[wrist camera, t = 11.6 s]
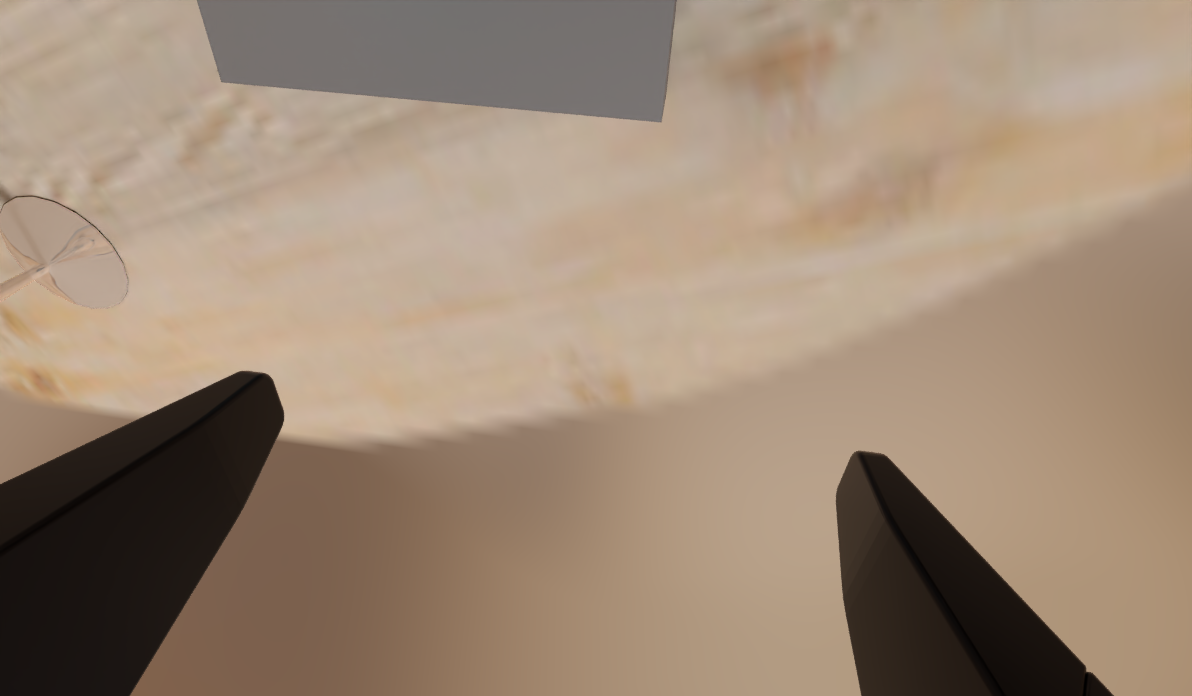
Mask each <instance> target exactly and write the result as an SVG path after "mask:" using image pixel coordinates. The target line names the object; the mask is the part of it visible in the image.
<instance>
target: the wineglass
mask: <svg viewBox="0 0 1192 696" xmlns="http://www.w3.org/2000/svg"><path fill="white" fill-rule="evenodd" d="M0 233H1V235H2V238H3V240H4V242H5V245H6V247H7V249H8V251H9V252H10V253H11V255H12V256H13V257H14V259H15V260H16V261H17V263H18V264H19V266H20V267H21V268H22V269H23V270H24V271H25V272H23V273H21V274H19V275H17V276H15V277H13V278H11V279H9V280H7V281H5V282H3V283H1V284H0V302H2V301H3V300H5V299H6V298H8V297H10V296H11V295H13V294H14V293H16V292H17V291H19V290H20V289H22V288H24V287H25V286H27V285H28V284H30V283H31V282H33V281H34V280H35V281H36V282H37V283H39V284H40V285H42V286H43V287H44V288H46V289H47V290H49V291H50V292H52V293H53V294H55V295H57V296H59V297H61V298H63V299H65V300H67V301H69V302H71V303H73V304H77V305H81V306H84V307H88V308H110V307H112V306H114V305H117V304H119V303H120V302H121V301H122V299H123V298H124V297H125V295H126V294H127V285H128V278H127V275H126V272H125V269H124V265H123V263H122V261H121V259H120V258H119V256H118V255H117V253H116V251H115V250H114V248H113V246H112V245H111V244H110V243H109V242H108V241H107V240H106V239H105V238H104V237H103V235H102V234H101V233H100V232H99V231H98V230H97V229H96V228H95V227H94V226H92V225H91V224H90V223H88V222H87V221H86V220H84V219H83V218H82V217H80V216H79V215H78V214H76V213H75V212H73V211H71V210H69V209H67V208H65V207H63V206H61V205H59V204H57V203H55V202H52V201H48V200H44V199H40V198H36V197H18V198H15V199H13V200H11V201H9V202H8V203H6V204H4V206H3V208H2V210H1V212H0Z"/></svg>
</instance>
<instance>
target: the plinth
mask: <svg viewBox="0 0 1192 696" xmlns="http://www.w3.org/2000/svg"><path fill="white" fill-rule="evenodd" d="M676 1H677V0H197V2H198V6H199V9H200V12H201V16H202V19H203V22H204V26H205V29H206V32H207V35H208V39H209V42H210V45H211V49H212V52H213V55H214V59H215V62H216V65H217V69H218V72H219V75H220V79H221V82H224V83H235V84H246V85H257V86H268V87H279V88H290V89H301V90H312V91H323V92H334V93H345V94H356V95H367V96H378V97H389V98H400V99H411V100H422V101H433V102H444V103H455V104H465V105H476V106H487V107H498V108H509V109H520V110H531V111H542V112H553V113H564V114H575V115H586V116H597V117H608V118H619V119H630V120H641V121H652V122H662V116H663V110H664V104H665V98H666V90H667V81H668V72H669V63H670V54H671V45H672V37H673V28H674V19H675V10H676Z"/></svg>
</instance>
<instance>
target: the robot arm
mask: <svg viewBox="0 0 1192 696" xmlns="http://www.w3.org/2000/svg"><path fill="white" fill-rule="evenodd" d="M283 422H284V410H283V407H282V404H281V401H280V399H279V396H278V393H277V390H276V387H275V384H274V382H273V379H272V378H271V377H270V376H269V375H268V374H266V373H260V372H252V371H240V372H237V373H235V374H233V375H231V376H229V377H227V378H224V379H222V380H220V381H218V382H216V383H214V384H212V385H210V386H207V387H205V388H203V389H201V390H199V391H197V392H195V393H193V394H191V395H188V396H186V397H184V398H182V399H180V400H178V401H176V402H174V403H171V404H169V405H167V406H165V407H163V408H161V409H159V410H157V411H154V412H152V413H150V414H148V415H146V416H144V417H142V418H140V419H138V420H135V421H133V422H131V423H129V424H127V425H125V426H123V427H121V428H118V429H116V430H114V431H112V432H110V433H108V434H106V435H104V436H101V437H99V438H97V439H95V440H93V441H91V442H89V443H87V444H85V445H82V446H80V447H78V448H76V449H74V450H72V451H70V452H68V453H65V454H63V455H61V456H59V457H57V458H55V459H53V460H51V461H49V462H47V463H44V464H42V465H40V466H38V467H36V468H34V469H32V470H30V471H27V472H25V473H23V474H21V475H19V476H17V477H15V478H13V479H10V480H8V481H6V482H4V483H2V484H0V696H130V695H131V693H132V692H133V690H134V688H135V687H136V685H137V683H138V682H139V680H140V678H141V677H142V675H143V674H144V672H145V670H146V669H147V667H148V665H149V664H150V662H151V660H152V659H153V657H154V655H155V654H156V652H157V650H158V649H159V647H160V645H161V644H162V642H163V641H164V639H165V637H166V636H167V634H168V632H169V631H170V629H171V627H172V626H173V624H174V622H175V621H176V619H177V617H178V616H179V614H180V613H181V611H182V609H183V607H184V606H185V604H186V603H187V601H188V599H189V598H190V596H191V594H192V593H193V591H194V589H195V588H196V586H197V585H198V583H199V581H200V580H201V578H202V576H203V574H204V573H205V571H206V570H207V568H208V566H209V565H210V563H211V561H212V560H213V558H214V556H215V555H216V553H217V551H218V550H219V548H220V547H221V545H222V543H223V542H224V540H225V538H226V537H227V535H228V533H229V532H230V530H231V528H232V527H233V525H234V524H235V522H236V520H237V518H238V517H239V515H240V513H241V511H242V510H243V508H244V506H245V504H246V502H247V500H248V498H249V496H250V494H251V492H252V490H253V488H254V485H255V483H256V481H257V479H258V477H259V475H260V473H261V471H262V468H263V466H264V464H265V462H266V460H267V458H268V456H269V454H270V451H271V449H272V447H273V445H274V443H275V441H276V439H277V437H278V435H279V432H280V430H281V428H282V425H283ZM836 510H837V524H838V538H839V552H840V566H841V579H842V591H843V600H844V606H845V612H846V618H847V623H848V628H849V634H850V639H851V644H852V649H853V654H854V659H855V664H856V670H857V675H858V680H859V685H860V691H861V696H1114V695H1113V694H1112V693H1111V692H1110V691H1109V690H1108V689H1107V688H1106V687H1105V686H1104V685H1103V684H1102V683H1101V682H1100V681H1099V679H1098V678H1097V677H1096V676H1095V675H1094V674H1093V673H1091V672H1086V666H1085V665H1084V664H1083V663H1082V662H1081V661H1080V660H1079V659H1078V657H1077V656H1076V655H1075V654H1074V653H1073V652H1072V651H1071V650H1070V649H1069V648H1068V647H1067V646H1066V645H1065V644H1064V643H1063V642H1062V641H1061V639H1060V638H1059V637H1058V636H1057V635H1056V634H1055V633H1054V632H1053V631H1052V630H1051V629H1050V628H1049V627H1048V626H1047V625H1046V624H1045V623H1044V622H1043V620H1042V619H1041V618H1040V617H1039V616H1038V615H1037V614H1036V613H1035V612H1034V611H1033V610H1032V609H1031V608H1030V607H1029V606H1028V605H1027V604H1026V602H1024V600H1022V598H1021V597H1020V596H1019V595H1018V594H1017V593H1016V592H1015V591H1014V590H1013V589H1012V588H1011V587H1010V586H1009V585H1008V583H1007V582H1006V581H1004V579H1003V578H1002V577H1001V576H1000V575H999V574H998V573H997V572H996V571H995V570H994V569H993V568H992V567H991V566H990V564H988V562H987V561H986V560H985V559H984V558H983V557H982V556H981V555H980V554H979V553H978V552H977V551H976V550H975V549H974V548H973V546H972V545H971V544H970V543H969V542H968V541H967V540H966V539H965V538H964V537H963V536H962V535H961V534H960V533H959V532H958V531H957V530H956V529H955V527H954V526H952V524H950V522H949V521H948V520H947V519H946V518H945V517H944V516H943V515H942V514H941V513H940V512H939V511H938V510H937V508H936V507H935V506H934V505H933V504H932V503H931V502H930V501H929V500H928V499H927V498H926V497H925V496H924V495H923V494H922V493H921V492H920V490H919V489H918V488H917V487H916V486H915V485H914V484H913V483H912V482H911V481H910V480H909V479H908V478H907V477H906V476H905V475H904V474H903V473H902V471H901V470H900V469H899V468H898V467H897V466H896V465H895V464H894V463H893V462H892V461H891V460H890V459H889V458H888V457H887V456H885V455H884V454H881V453H874V452H866V451H856V452H854V453H853V454H852V456H851V458H850V460H849V462H848V465H847V467H846V469H845V472H844V474H843V476H842V478H841V481H840V483H839V486H838V488H837V493H836Z"/></svg>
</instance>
